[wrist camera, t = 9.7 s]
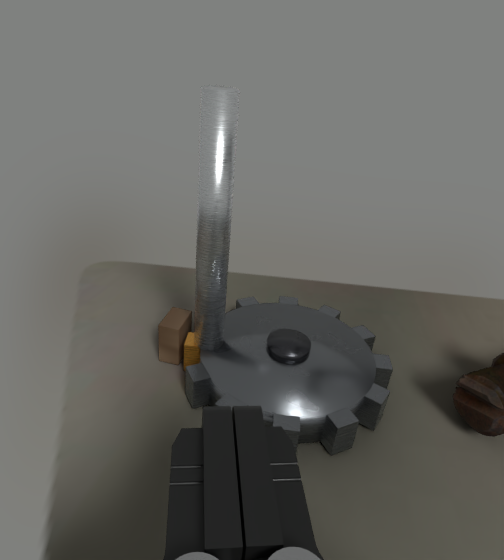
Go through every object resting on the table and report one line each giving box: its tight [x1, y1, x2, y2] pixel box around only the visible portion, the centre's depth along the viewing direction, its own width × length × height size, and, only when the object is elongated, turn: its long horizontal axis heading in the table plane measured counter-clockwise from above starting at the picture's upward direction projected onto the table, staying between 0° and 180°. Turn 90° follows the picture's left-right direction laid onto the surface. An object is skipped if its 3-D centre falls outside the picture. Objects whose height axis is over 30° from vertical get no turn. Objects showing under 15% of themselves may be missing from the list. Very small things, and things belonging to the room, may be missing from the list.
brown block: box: [158, 307, 192, 365], centre depth 26 cm, size 1×2×2 cm, turn 166°
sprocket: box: [184, 85, 393, 455], centre depth 22 cm, size 11×11×15 cm
